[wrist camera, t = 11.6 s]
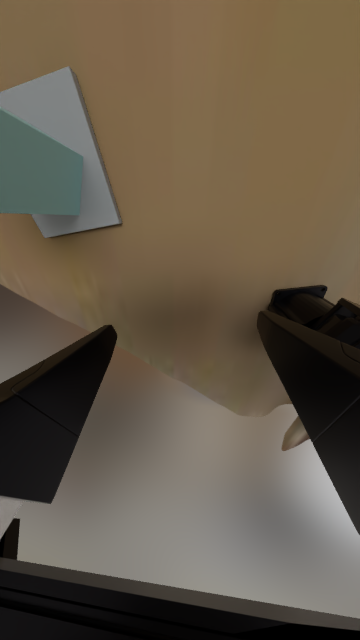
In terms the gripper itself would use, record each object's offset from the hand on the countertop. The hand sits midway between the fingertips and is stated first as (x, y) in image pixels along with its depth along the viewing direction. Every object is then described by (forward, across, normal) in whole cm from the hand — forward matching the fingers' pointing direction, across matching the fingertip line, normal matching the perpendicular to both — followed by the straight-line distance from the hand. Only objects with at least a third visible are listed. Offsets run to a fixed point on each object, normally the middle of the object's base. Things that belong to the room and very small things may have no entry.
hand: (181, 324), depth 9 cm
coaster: (+13, +12, -11) cm, 21 cm away
